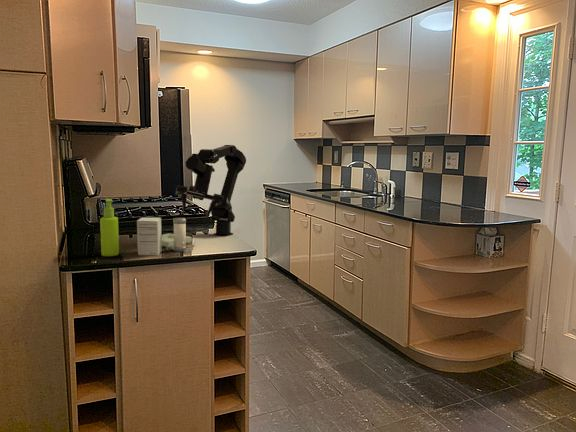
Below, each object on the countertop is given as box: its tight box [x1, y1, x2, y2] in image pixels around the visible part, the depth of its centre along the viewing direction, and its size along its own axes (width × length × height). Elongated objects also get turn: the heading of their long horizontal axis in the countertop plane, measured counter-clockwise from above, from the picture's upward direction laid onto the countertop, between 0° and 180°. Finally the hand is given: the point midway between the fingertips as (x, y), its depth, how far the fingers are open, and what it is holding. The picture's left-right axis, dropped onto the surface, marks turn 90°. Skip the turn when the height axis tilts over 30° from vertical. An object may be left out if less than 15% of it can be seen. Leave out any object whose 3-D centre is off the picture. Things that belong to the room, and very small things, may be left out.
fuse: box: [172, 217, 187, 252], centre depth 168 cm, size 5×5×12 cm
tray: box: [161, 233, 193, 248], centre depth 182 cm, size 13×13×2 cm
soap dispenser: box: [99, 198, 120, 257], centre depth 158 cm, size 6×7×20 cm
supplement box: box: [136, 217, 163, 256], centre depth 163 cm, size 7×7×13 cm
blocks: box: [166, 244, 196, 253], centre depth 172 cm, size 10×8×1 cm
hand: (195, 215), depth 179 cm, fingers open, 9 cm apart
